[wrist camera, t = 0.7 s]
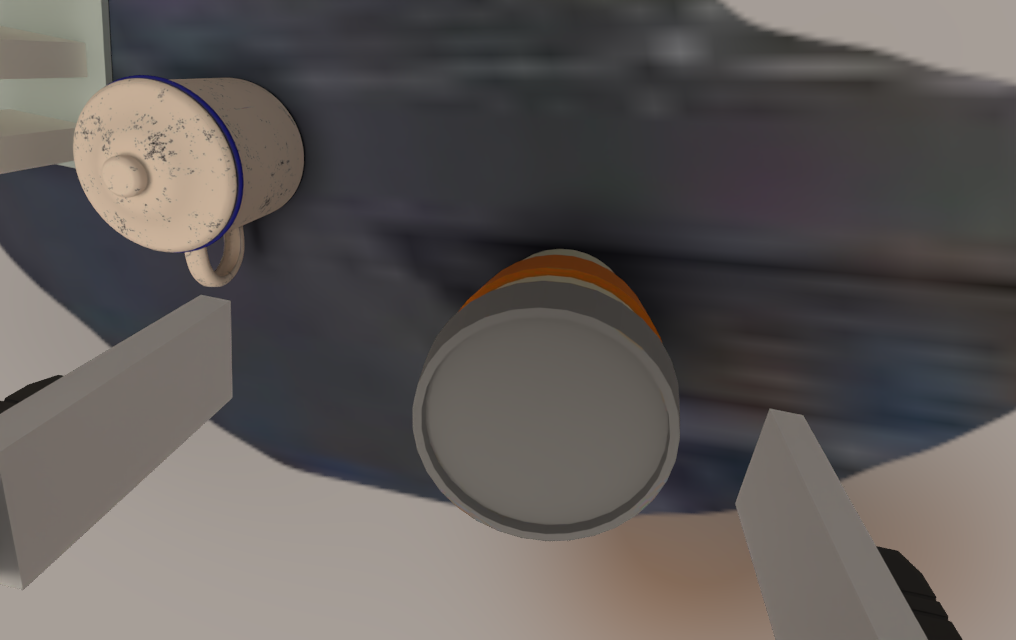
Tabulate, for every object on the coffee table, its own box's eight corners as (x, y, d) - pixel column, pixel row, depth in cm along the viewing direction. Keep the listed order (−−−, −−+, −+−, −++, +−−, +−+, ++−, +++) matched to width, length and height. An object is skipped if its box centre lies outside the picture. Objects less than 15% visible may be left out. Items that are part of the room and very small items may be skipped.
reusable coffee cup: (671, 383, 44) (705, 531, 30) (493, 410, 46) (447, 558, 32) (640, 201, 39) (661, 274, 26) (446, 242, 42) (370, 329, 28)
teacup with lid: (161, 75, 40) (2, 78, 30) (299, 71, 39) (185, 73, 29) (199, 260, 45) (73, 321, 34) (324, 261, 44) (235, 325, 33)
